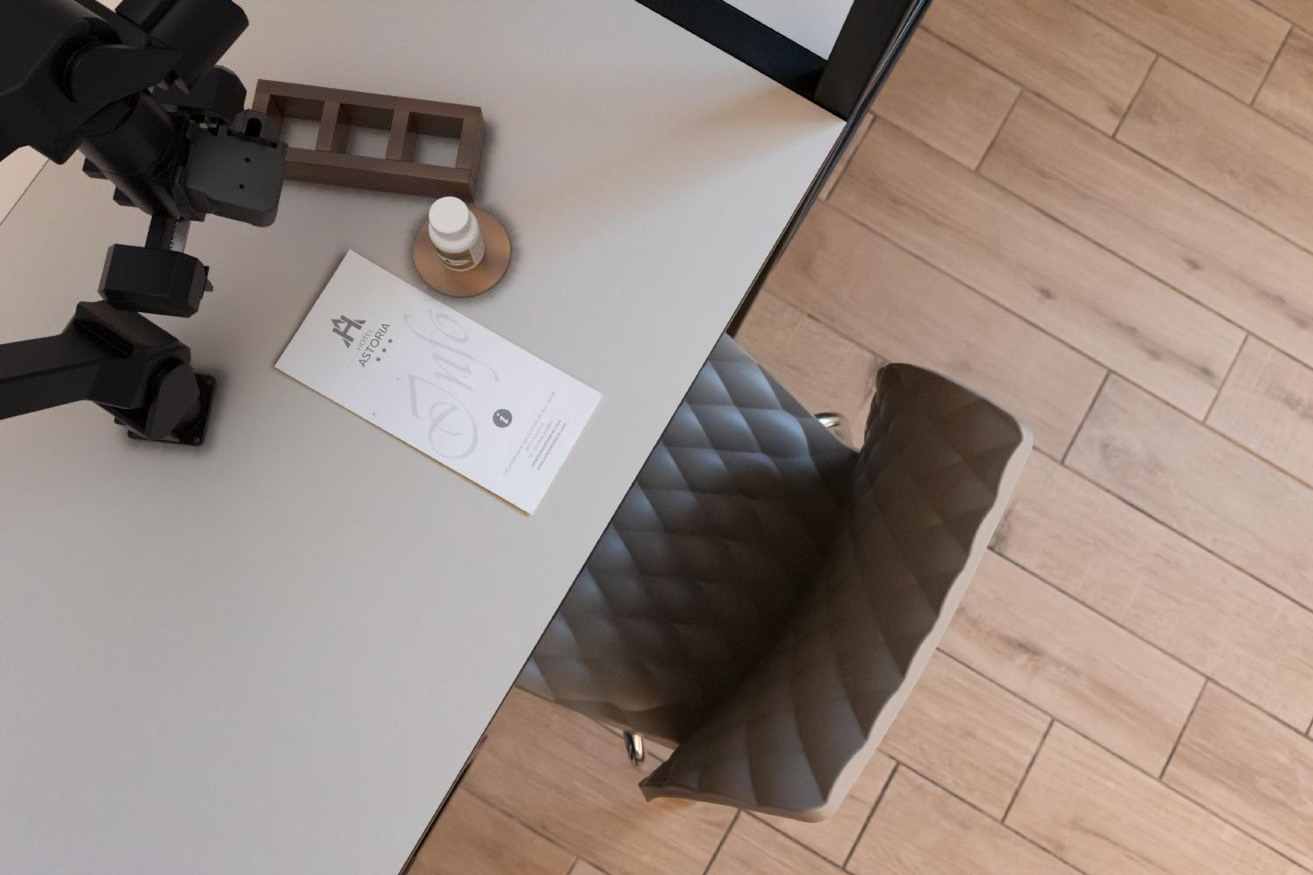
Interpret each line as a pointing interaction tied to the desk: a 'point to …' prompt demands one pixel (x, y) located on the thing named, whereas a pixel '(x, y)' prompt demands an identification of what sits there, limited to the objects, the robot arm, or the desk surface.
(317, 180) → the rack
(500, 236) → the coaster
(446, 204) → the pill bottle
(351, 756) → the desk surface
